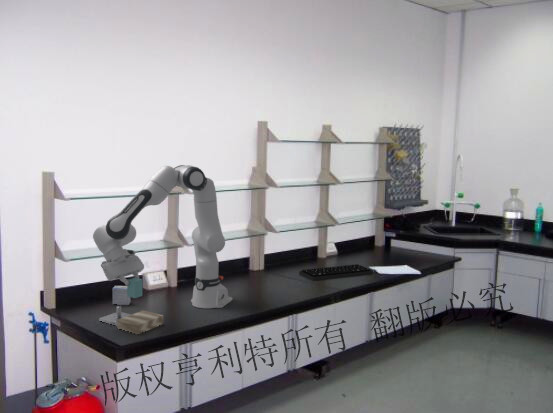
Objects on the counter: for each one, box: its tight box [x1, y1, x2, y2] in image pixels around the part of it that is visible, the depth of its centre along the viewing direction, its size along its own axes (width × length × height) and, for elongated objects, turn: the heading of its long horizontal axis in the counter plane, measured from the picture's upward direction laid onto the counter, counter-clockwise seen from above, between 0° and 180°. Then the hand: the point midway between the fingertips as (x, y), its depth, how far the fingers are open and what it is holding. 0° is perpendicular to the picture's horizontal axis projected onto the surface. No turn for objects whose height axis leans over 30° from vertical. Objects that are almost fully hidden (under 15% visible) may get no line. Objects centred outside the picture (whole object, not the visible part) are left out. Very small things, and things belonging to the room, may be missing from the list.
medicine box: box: [112, 285, 131, 306], centre depth 274 cm, size 8×4×9 cm, turn 92°
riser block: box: [116, 309, 164, 335], centre depth 245 cm, size 16×12×4 cm
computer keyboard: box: [298, 263, 374, 282], centre depth 349 cm, size 45×16×4 cm, turn 118°
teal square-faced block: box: [126, 277, 143, 299], centre depth 245 cm, size 5×5×8 cm
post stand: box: [98, 305, 132, 327], centre depth 251 cm, size 12×12×6 cm
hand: (133, 282), depth 245 cm, fingers closed on teal square-faced block, 5 cm apart
